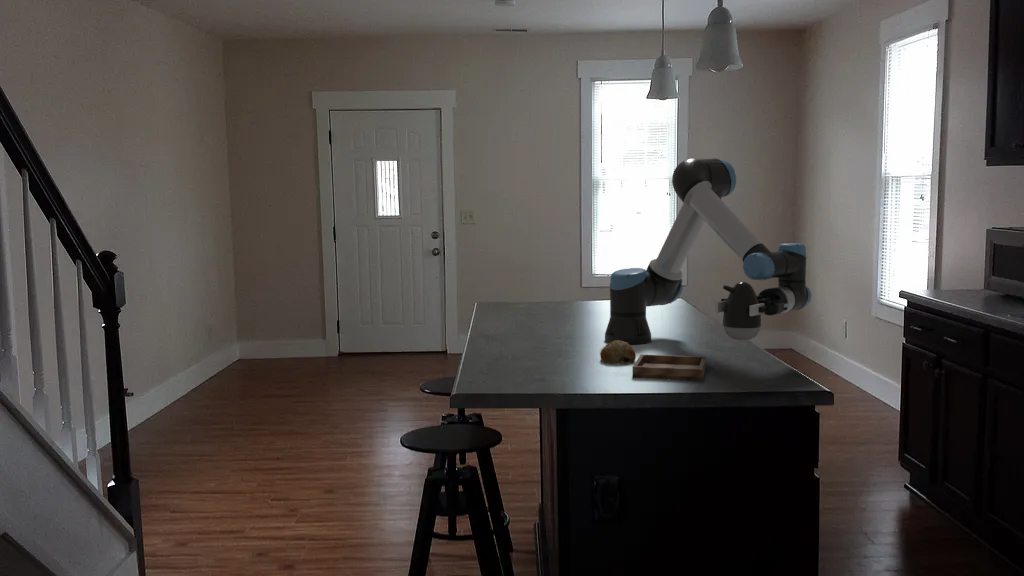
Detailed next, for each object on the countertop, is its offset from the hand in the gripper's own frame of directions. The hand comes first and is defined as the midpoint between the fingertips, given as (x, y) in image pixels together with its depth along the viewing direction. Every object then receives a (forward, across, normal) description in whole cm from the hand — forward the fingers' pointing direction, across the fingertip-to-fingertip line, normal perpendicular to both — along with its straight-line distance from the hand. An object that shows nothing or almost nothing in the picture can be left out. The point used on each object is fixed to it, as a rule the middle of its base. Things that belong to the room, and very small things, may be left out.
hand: (733, 309), depth 232 cm
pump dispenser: (-4, 0, -8) cm, 10 cm away
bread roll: (+4, +36, -18) cm, 40 cm away
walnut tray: (+7, +14, -18) cm, 24 cm away
